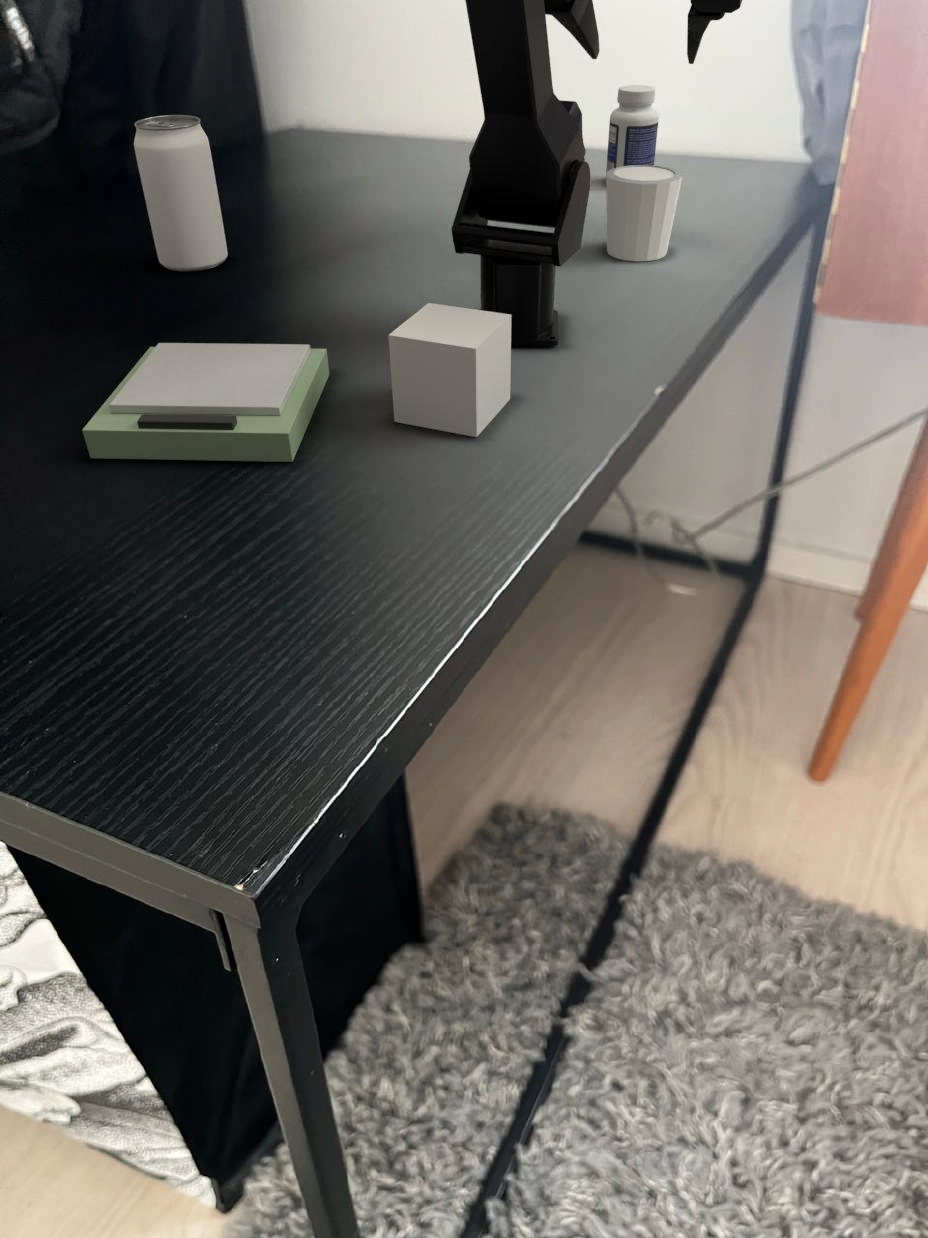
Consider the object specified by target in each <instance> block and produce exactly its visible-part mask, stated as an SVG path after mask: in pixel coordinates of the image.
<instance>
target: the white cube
mask: <svg viewBox="0 0 928 1238" xmlns="http://www.w3.org/2000/svg"><path fill="white" fill-rule="evenodd" d="M387 338H388V351H389V363H390V364H389V365H390V379H391V391H392V392H391V393H392V394H391V395H392V407H393V409H392V410H393V421H394V423H400V424H405V425H409V426H415V427H421V428H424V429H425V428H426V429H430V430H431V429H432V430H437V431H442V432H446V433H453V434H456V435H463V436H468V437H473V438H478V436H479V435H481V433H482V432H483V431H484V430H485V428H487V426H488V425H489V424H490V423H491V422H492V421H493V420H494V418H496V416H497V415H498V414H499V413H500V411H502V409H503V408H504V407H505V406H506V405H507V404H508V402H509V401H510V400H511V376H512V375H511V374H512V373H511V372H512V371H511V370H512V369H511V368H512V367H511V366H512V345H511V315H510V314H503V313H496V312H489V311H482V310H480V309H475V308H467V307H460V306H453V305H446V304H440V303H433V302H428V303H426V304H425V305H424V306H423V307H421V309H419V310H417V312H415V313H414V314H413V315H411V316H410V317H409V318H408V319H406V320H405V321H404V322H403V323H401V324H400V325H399V326H398V327H397V328H396V329H394V330H393V331H391V333H389V334H388V337H387Z"/></svg>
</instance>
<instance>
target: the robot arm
mask: <svg viewBox="0 0 928 1238" xmlns="http://www.w3.org/2000/svg"><path fill="white" fill-rule="evenodd" d="M464 1H465V6H466V13H467V19H468V24H469V25H468V26H469V30H470V31H469V32H470V38H471V43H472V49H473V54H474V61H475V67H476V72H477V80H478V84H479V91H480V96H481V102H482V103H481V104H482V109H483V117H484V119H483V122H482V124H481V127H480V129H479V132H478V133H477V136H476V139H475V140H474V143H473V146H472V148H471V150H470V153H469V155H468V163H469V171H468V174H467V177H466V180H465V183H464V187H463V190H462V194H461V196H460V200H459V203H458V206H457V210H456V212H455V216H454V220H453V222H452V225H451V237H452V242H453V247H454V252H455V253H456V254H459V255H464V254H468V255H475V256H476V255H477V256H480V262H479V263H480V309H479V310H482V311H489V312H496V313H503V314H510V315H511V346H519V347H520V346H521V347H523V346H529V347H531V346H535V347H546V346H547V347H555V346H557V345H559V338H560V337H559V313H558V310H556V309H555V289H556V288H555V287H556V267H562V266H563V265H564V264H565V263H567V262H568V260H570V259H571V258H572V257H573V256H574V255H575V254H576V253H577V252H578V251H580V250H581V247H582V241H583V233H584V227H585V222H586V216H587V210H588V209H587V208H588V204H589V203H588V202H589V195H590V190H591V167H590V164H589V162H587V161H586V159H585V156H586V153H587V152H586V151H587V150H586V148H585V144H584V135H583V112H582V110H581V108H580V106H579V104H578V102H577V101H574V100H561V99H559V98H558V96H557V95H556V94H555V92H554V87H553V77H552V68H551V57H550V48H549V38H548V37H549V36H548V27H547V26H548V25H547V16H552V17H553V18H554V19H555V20H556V21H557V22H558V23H559V24H560V25H562V27H564V29H566V30H567V31H568V33H570V35H572V37H573V38H574V39H575V40H576V41H577V43H578V44H579V45H580V46H581V48H582V49H583V50H584V51H585V52H586V53H587V55H588V56H589V57H590V58H591V59H592V60H597V59H598V56H599V54H600V35H599V30H598V23H597V18H596V13H595V7H594V1H593V0H464ZM742 3H743V0H690V8H689V11H688V13H687V31H686V32H687V33H686V34H687V36H686V39H687V40H686V41H687V42H686V56H687V60H688V64H689V65H694V64H695V61H696V58H697V56H698V52H699V49H700V46H701V43H702V40H703V37H704V34H705V32H706V30H707V29H708V26H709V25H710V23H711V22H712V21H720V20H722V19H723V18H724V17H725V15H726V14H732V13H734V12H736V11H737V10H739V9H740V8H741V6H742ZM489 222H496V223H506V224H515V225H523V226H531V227H541V228H550V229H554V230H553V232H548V231H540V230H532V229H525V228H524V229H523V228H514V227H505V226H496V225H489V224H488V223H489Z"/></svg>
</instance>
